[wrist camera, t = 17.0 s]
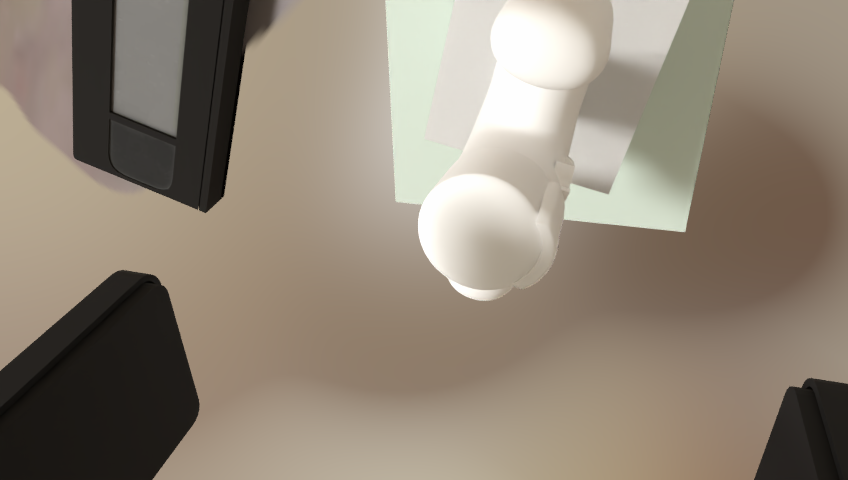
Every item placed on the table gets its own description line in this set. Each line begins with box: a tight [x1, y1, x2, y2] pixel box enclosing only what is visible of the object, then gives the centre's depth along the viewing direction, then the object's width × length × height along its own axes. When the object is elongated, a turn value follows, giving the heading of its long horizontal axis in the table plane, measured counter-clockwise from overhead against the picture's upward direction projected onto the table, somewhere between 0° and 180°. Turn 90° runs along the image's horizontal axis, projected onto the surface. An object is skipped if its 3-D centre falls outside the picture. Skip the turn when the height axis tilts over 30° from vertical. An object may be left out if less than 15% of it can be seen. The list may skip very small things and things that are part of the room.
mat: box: [386, 0, 734, 232], centre depth 27 cm, size 15×13×1 cm
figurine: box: [418, 0, 689, 301], centre depth 20 cm, size 7×9×15 cm
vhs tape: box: [72, 0, 249, 213], centre depth 31 cm, size 8×14×2 cm, turn 163°
